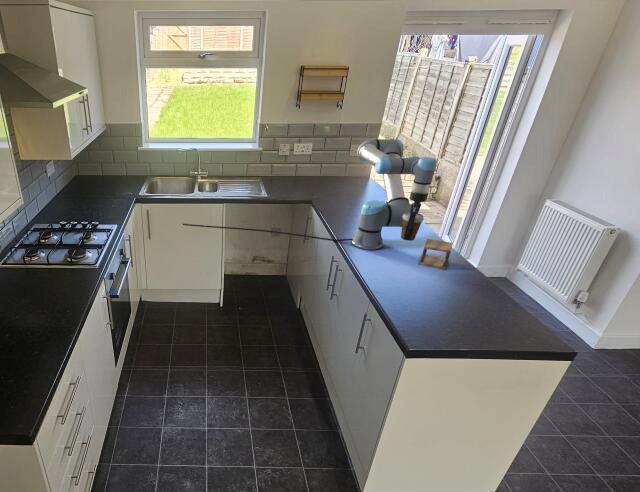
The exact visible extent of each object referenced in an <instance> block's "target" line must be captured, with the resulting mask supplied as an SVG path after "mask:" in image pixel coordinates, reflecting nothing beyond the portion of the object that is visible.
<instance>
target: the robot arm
mask: <svg viewBox="0 0 640 492" xmlns="http://www.w3.org/2000/svg"><path fill="white" fill-rule="evenodd" d="M356 154H357V157H358V159H359V160H360V161H361V162H363V163H368V164H370V165H372V166H373V167H374V169H375V173H376V174H378V175H382V178H383V184H384V189H385V190H384V191H385V195H386V201H385V200H379V199H375V200H369V201H366V202H365V203H364V204H362V208H361V210H360V215H359V216H360V217H359V221H358V227H357V230H356V232H355V234H354V236H353V238H328V237H321V236H316V235H315V236H314V235H307V234H302V233H294V232H286V231H279V230H270V229H259V228H248V227H247V228H246V227H235V226H219V225H207V224H206V225H205V224H195V223H194V224H192V223H184V222H183V223H182V226H188V227H199V228H212V229H213V228H214V229H227V230H241V231H242V230H243V231H252V232H253V231H254V232H264V233H265V232H266V233H273V234H282V235H283V234H284V235H291V236H296V237H297V236H298V237H304V238H311V239H316V240H324V241H329V242H330V241H332V242H345V241H346V242H347V241H351V244H352V246H354V247H355V248H358V249H362V250H367V251H369V250H370V251H375V250H379V249H381V248H382V246H383V237H382V229H383V228H402V223H403V217H402V216H403V215H404V213H408V212H410V217H409V221H408V224H407V226H405V227H407V228H406V232H405V236H404V239H403V241H408V242H411V241H410V237H411V233H412V230H413V225H414V221H415V218H416V215H417V214H419V212H420V209H421V207H422V203H424V202H426V201H427V200H428V196H429V192H430V189H432V182H433V179H434V175H435V171H436V169H437V162H438V160H437V158H435V157H432V156H422V157H419V156H415V155H412V156H409V157H403V156H404V144H403V142H402V141H401V140H400V139H394V138H387V139H386V138H384V139H382V138H371V139H367V140H364V141H363V142H361V143H360V145H359V146H358V148H357V151H356ZM402 175H413V176H414V178H413V182H412V186H411V191H410V194H409V198H408V197H406V195H405V190H404V184H403V179H402ZM410 201H412V203H410Z"/></svg>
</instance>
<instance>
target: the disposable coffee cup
mask: <svg viewBox="0 0 640 492" xmlns="http://www.w3.org/2000/svg"><path fill="white" fill-rule="evenodd" d="M402 217H403V223H402V227H401V233H400V239H402V240H404V236H405V232H406V228H407V227H405V226H407V224H408V221H409V217H410V212H408V213H404V215H403V216H402ZM424 220H425V218H424V215H423V214H421V213H418V214H417V215H416V218H415V221H414V225H413V230H412V233H411V237H410V241H409V242H411V241H415V239H416V236H417V234H418V232H419V230H420V228H421V225H422V222H423V221H424Z"/></svg>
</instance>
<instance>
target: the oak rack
mask: <svg viewBox="0 0 640 492" xmlns="http://www.w3.org/2000/svg"><path fill="white" fill-rule="evenodd" d="M453 244H454V242H450V241H443V240H439V239H432V238H426V241H425V244H424V246H423V251H422V253H421V257H420V260H419V265H422V266H427V267H432V268H437V269H442V270H446V268H447V264H448V262H449V259H450V255H451V253H452V249H453V246H454V245H453ZM428 250H430V251H435V252H442V253H445V256H444V257H441V256H435V255H430V254H427V253H428Z"/></svg>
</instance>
